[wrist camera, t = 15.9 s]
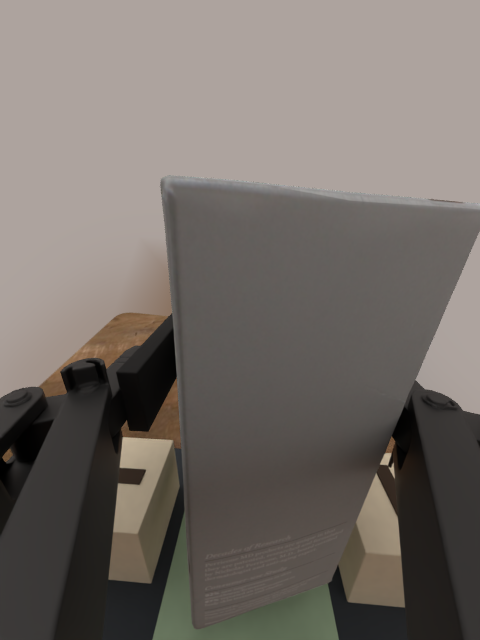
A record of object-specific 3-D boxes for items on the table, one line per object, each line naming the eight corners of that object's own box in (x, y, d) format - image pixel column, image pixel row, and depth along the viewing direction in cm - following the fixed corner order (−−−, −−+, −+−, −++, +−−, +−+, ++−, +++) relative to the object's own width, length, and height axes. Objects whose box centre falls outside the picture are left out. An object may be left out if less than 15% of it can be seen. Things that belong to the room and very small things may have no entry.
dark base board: (-14, 675, 10) (-72, 623, 8) (121, 448, 20) (110, 401, 18) (538, 742, 9) (621, 700, 7) (387, 464, 19) (403, 416, 17)
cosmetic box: (184, 456, 16) (153, 201, 10) (281, 436, 18) (301, 204, 12) (189, 657, 9) (85, 138, 3) (356, 593, 10) (515, 169, 4)
